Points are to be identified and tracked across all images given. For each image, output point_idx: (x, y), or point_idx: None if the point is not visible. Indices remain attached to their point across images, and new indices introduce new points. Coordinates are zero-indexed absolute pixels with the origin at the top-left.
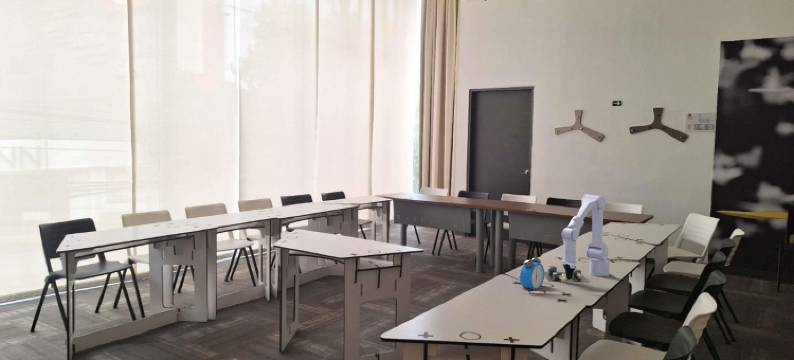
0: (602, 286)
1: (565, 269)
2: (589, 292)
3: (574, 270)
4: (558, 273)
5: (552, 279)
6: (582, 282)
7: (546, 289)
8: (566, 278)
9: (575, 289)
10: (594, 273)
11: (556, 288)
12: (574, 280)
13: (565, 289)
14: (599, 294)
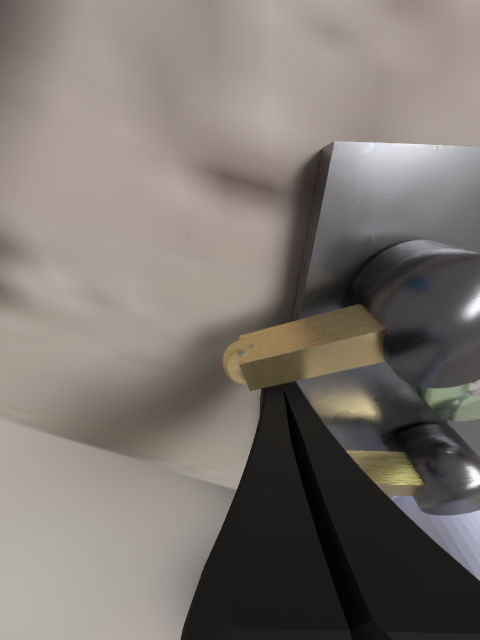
0: None
1: (256, 510)
2: (99, 415)
3: (473, 491)
4: (432, 343)
5: (430, 235)
6: None
7: (14, 4)
8: (227, 376)
9: (146, 363)
10: (419, 517)
11: (129, 206)
12: (333, 411)
13: (120, 292)
14: (78, 442)
